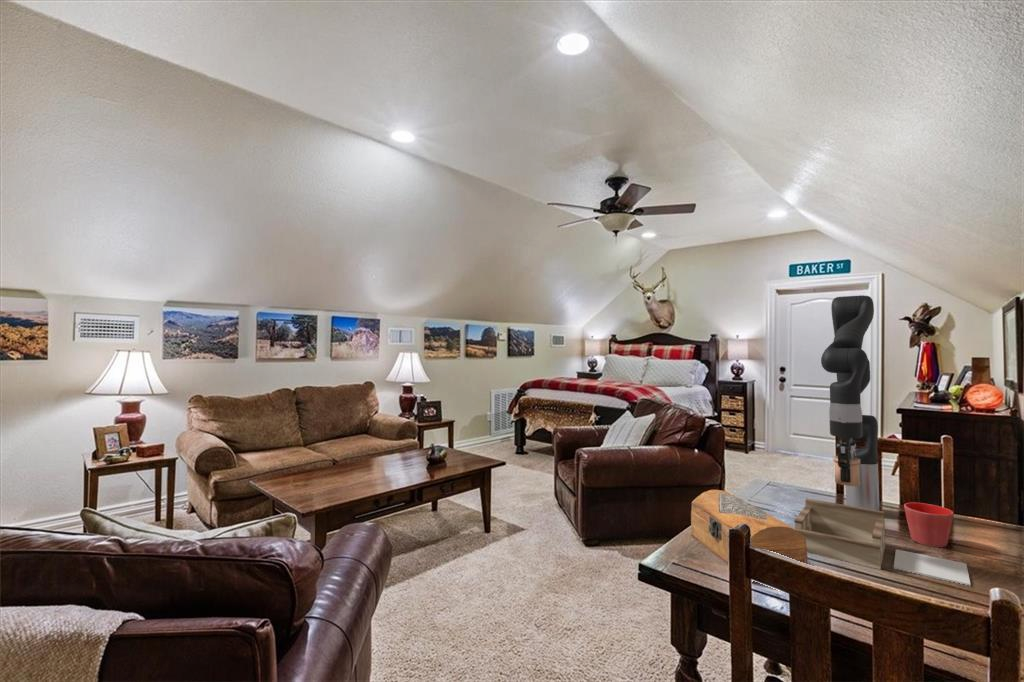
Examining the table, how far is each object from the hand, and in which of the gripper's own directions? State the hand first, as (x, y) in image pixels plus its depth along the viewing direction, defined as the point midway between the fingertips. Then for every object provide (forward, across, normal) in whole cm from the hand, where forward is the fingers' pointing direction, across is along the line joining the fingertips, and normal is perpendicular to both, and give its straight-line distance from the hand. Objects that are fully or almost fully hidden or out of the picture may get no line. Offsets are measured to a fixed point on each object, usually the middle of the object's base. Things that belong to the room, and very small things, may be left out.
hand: (847, 479), depth 132 cm
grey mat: (+19, 0, +17) cm, 26 cm away
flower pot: (+20, -21, +17) cm, 33 cm away
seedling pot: (+1, 0, 0) cm, 1 cm away
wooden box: (+20, +24, -21) cm, 38 cm away
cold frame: (+19, 0, -2) cm, 20 cm away
